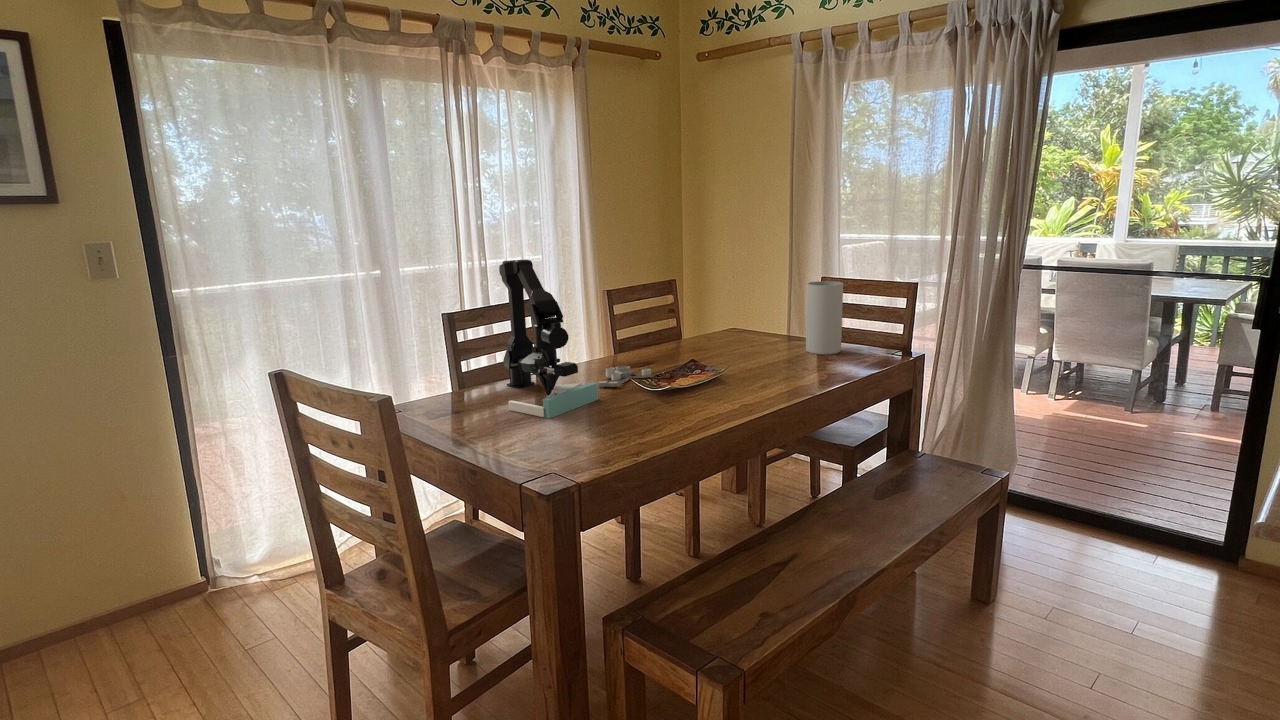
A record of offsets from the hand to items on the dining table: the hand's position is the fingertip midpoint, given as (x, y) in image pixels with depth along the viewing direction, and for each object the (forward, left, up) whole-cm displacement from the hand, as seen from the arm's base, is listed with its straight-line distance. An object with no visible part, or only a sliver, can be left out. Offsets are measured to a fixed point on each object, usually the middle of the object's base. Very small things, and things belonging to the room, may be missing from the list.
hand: (549, 395), depth 204 cm
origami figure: (+3, +3, -3) cm, 5 cm away
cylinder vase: (+42, +101, -3) cm, 109 cm away
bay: (+2, 0, -2) cm, 3 cm away
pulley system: (+4, +34, -3) cm, 35 cm away
